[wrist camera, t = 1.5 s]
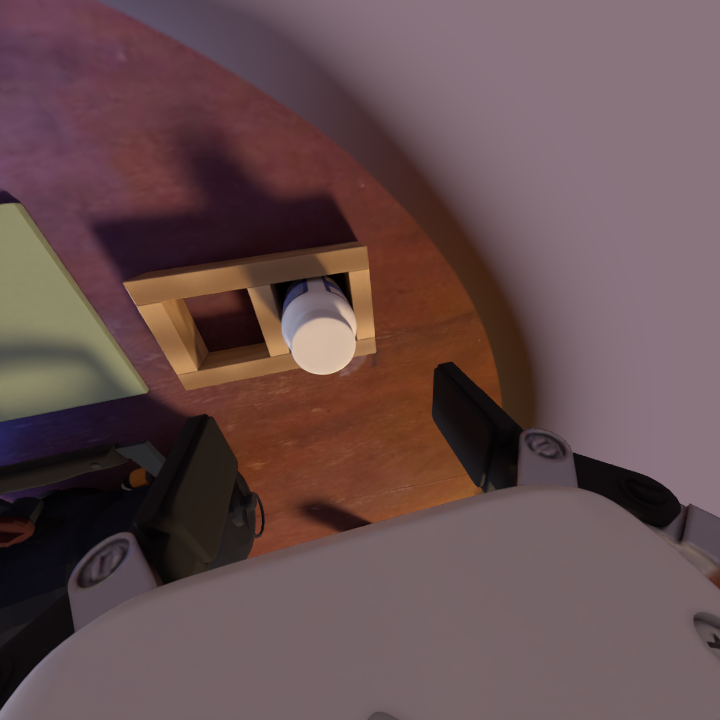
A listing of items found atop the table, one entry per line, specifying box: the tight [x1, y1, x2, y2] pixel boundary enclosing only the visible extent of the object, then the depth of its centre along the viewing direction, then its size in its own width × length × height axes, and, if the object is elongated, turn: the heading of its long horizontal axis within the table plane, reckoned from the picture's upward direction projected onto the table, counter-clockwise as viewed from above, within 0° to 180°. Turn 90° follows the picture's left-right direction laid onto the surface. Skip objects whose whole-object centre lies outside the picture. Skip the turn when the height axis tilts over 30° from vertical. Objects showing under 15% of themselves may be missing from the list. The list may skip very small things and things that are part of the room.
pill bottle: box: [281, 275, 357, 374], centre depth 19 cm, size 5×5×9 cm
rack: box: [123, 241, 376, 390], centre depth 21 cm, size 9×16×3 cm, turn 96°
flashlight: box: [0, 440, 265, 647], centre depth 23 cm, size 15×21×20 cm
